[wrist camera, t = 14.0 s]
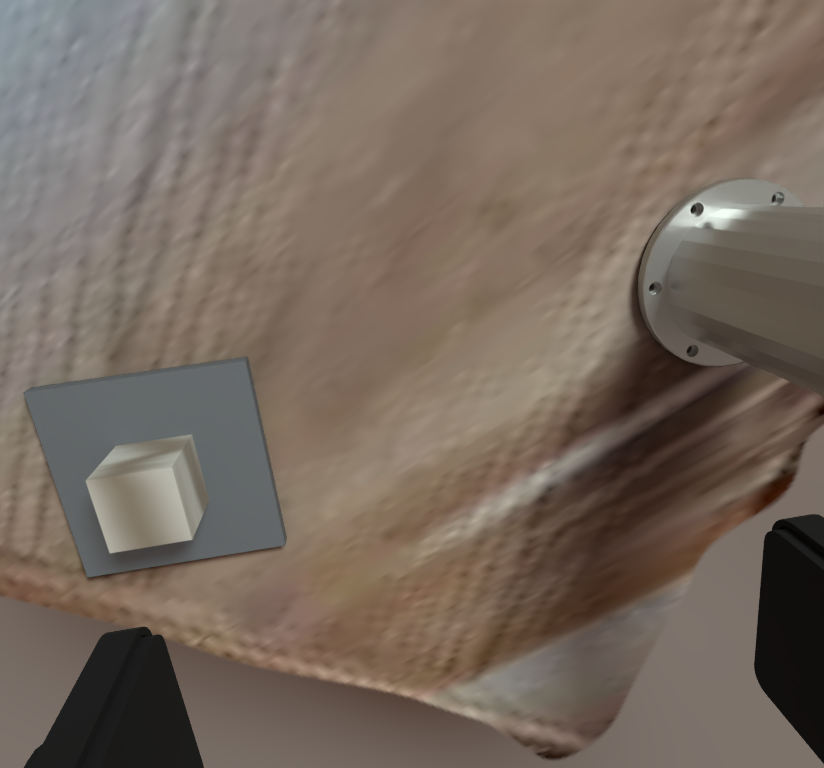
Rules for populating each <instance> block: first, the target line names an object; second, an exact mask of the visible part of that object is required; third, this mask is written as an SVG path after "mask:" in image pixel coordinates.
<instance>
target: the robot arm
mask: <svg viewBox="0 0 824 768" xmlns="http://www.w3.org/2000/svg"><path fill="white" fill-rule="evenodd" d="M691 207H693V210H692V212H691V211H690V210H691ZM651 284H652V288H651V289H650V290H649V287H650V285H651ZM638 298H639V305H640V310H641V313H642V316H643V319H644V321H645V324H646V326H647V327H648V329H649V331H650V332H651V334H652V336H653V337H654V338H655V339H656V340H657V341H658V342H659V343H660V344H661V345H662V346H663V347H664V348H665V349H666V350H668V351H669V352H671V353H673V354H674V355H676V356H677V357H679V358H681V359H683V360H685V361H688V362H691V363H695V364H699V365H703V366H717V367H721V366H728V365H735V364H739V363H742V362H747V363H749V364H751V365H754V366H756V367H758V368H760V369H763V370H765V371H767V372H769V373H772V374H774V375H776V376H778V377H781V378H783V379H785V380H787V381H790V382H792V383H794V384H797V385H799V386H801V387H803V388H806V389H808V390H810V391H812V392H815V393H817V394H819V395H821V396H824V208H821V207H806V206H805V205H804V204H803V202H802V201H801V200H800V199H799V198H798V197H797V196H795V195H794V194H793V193H792V192H790V191H789V190H788V189H786V188H784V187H781V186H779V185H777V184H775V183H773V182H768V181H763V180H758V179H735V180H727V181H721V182H718V183H715V184H712V185H709V186H706V187H704V188H702V189H700V190H698V191H697V192H695V193H693V194H691V195H689V196H688V197H686V198H685V199H684V200H683V201H682V202H680V203H679V204H678V205H677V206H675V207H674V208H673V209H672V210H671V211H670V212H669V214H668V215H667V216H666V217H665V218H664V219H663V220H662V221H661V223H660V224H659V226H658V227H657V229H656V230H655V232H654V234H653V235H652V237H651V238H650V240H649V243H648V245H647V248H646V250H645V252H644V255H643V257H642V262H641V266H640V271H639V276H638ZM687 348H688V349H687ZM754 668H755V674H756V677H757V680H758V682H759V684H760V686H761V688H762V689H763V691H764V692H765V693H766V695H767V696H768V697H769V698H770V699H771V701H772V702H773V703H774V704H775V705H776V707H777V708H778V709H779V710H780V711H781V713H782V714H783V715H784V716H785V718H786V719H787V720H788V721H789V722H790V724H791V725H792V726H793V727H794V728H795V730H796V731H797V732H798V733H799V734H800V736H801V737H802V738H803V739H804V740H805V742H806V743H807V744H808V745H809V746H810V748H811V749H812V750H813V751H814V753H815V754H816V755H817V756H818V757H819V758H820V759H821V761H822V762H823V763H824V518H823V517H822V516H820V515H815V514H812V515H805V516H799V517H794V518H787V519H781V520H778V521H776V522H775V524H774V525H773V528H772V531H770V532H768V533H767V534H766V535H765V539H764V550H763V562H762V574H761V587H760V599H759V612H758V625H757V638H756V651H755V662H754ZM24 768H204V767H203V763H202V759H201V756H200V753H199V749H198V747H197V743H196V740H195V737H194V733H193V730H192V727H191V724H190V720H189V717H188V714H187V711H186V708H185V704H184V701H183V698H182V695H181V691H180V688H179V685H178V682H177V679H176V676H175V672H174V669H173V666H172V662H171V660H170V656H169V653H168V650H167V646H166V643H165V641H164V638H163V637H162V636H161V635H153V636H152V633H151V631H150V630H149V629H148V628H147V627H138V628H132V629H126V630H120V631H114V632H109V633H106V634H104V635H102V637H101V638H100V639H99V641H98V643H97V645H96V646H95V648H94V650H93V652H92V654H91V656H90V658H89V659H88V661H87V663H86V665H85V667H84V669H83V671H82V672H81V674H80V676H79V678H78V680H77V682H76V683H75V685H74V687H73V689H72V691H71V693H70V695H69V696H68V698H67V700H66V702H65V704H64V706H63V708H62V709H61V711H60V713H59V715H58V717H57V719H56V721H55V723H54V724H53V726H52V728H51V730H50V732H49V733H48V735H47V738H46V739H45V741H44V743H43V744H42V745H41V746H40V747H38V748H37V749H36V750H35V751H34V753H33V754H32V755H31V757H30V758H29V760H28V761H27V763H26V765H25V767H24Z"/></svg>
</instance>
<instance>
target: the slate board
mask: <svg viewBox="0 0 824 768" xmlns="http://www.w3.org/2000/svg"><path fill="white" fill-rule="evenodd" d="M23 393H24V396H25V399H26V401H27V404H28V407H29V410H30V413H31V416H32V419H33V422H34V425H35V427H36V430H37V433H38V436H39V439H40V442H41V445H42V448H43V451H44V453H45V456H46V459H47V462H48V465H49V468H50V471H51V474H52V477H53V479H54V482H55V485H56V488H57V491H58V494H59V497H60V500H61V502H62V505H63V508H64V511H65V514H66V517H67V520H68V523H69V526H70V528H71V531H72V534H73V537H74V540H75V543H76V546H77V549H78V552H79V554H80V557H81V560H82V563H83V566H84V569H85V572H86V575H87V577H94V576H100V575H106V574H112V573H118V572H124V571H131V570H137V569H143V568H149V567H155V566H161V565H168V564H174V563H180V562H186V561H192V560H198V559H205V558H211V557H217V556H223V555H229V554H235V553H242V552H248V551H254V550H260V549H266V548H272V547H279V546H285V545H286V538H287V537H286V533H285V528H284V523H283V519H282V514H281V509H280V505H279V500H278V495H277V491H276V486H275V481H274V477H273V472H272V468H271V463H270V458H269V454H268V449H267V444H266V440H265V435H264V430H263V426H262V421H261V416H260V412H259V407H258V402H257V398H256V393H255V388H254V384H253V379H252V375H251V370H250V365H249V361H248V357H243V358H236V359H229V360H221V361H214V362H207V363H200V364H193V365H186V366H179V367H172V368H165V369H158V370H151V371H144V372H137V373H130V374H123V375H116V376H109V377H102V378H95V379H88V380H81V381H74V382H67V383H60V384H53V385H46V386H39V387H32V388H30V389H28V390H27V391H25V392H23ZM190 434H192V436H193V440H194V444H195V447H196V451H197V455H198V459H199V463H200V466H201V470H202V474H203V478H204V482H205V485H206V489H207V493H208V497H209V502H208V504H207V507H206V509H205V511H204V514H203V516H202V518H201V521H200V523H199V525H198V528H197V530H196V532H195V535H194V537H193V539H192V540H188V541H182V542H176V543H170V544H164V545H158V546H152V547H146V548H140V549H134V550H127V551H121V552H115V553H109V550H108V547H107V544H106V541H105V538H104V535H103V532H102V529H101V526H100V523H99V520H98V517H97V514H96V511H95V508H94V505H93V502H92V499H91V496H90V493H89V490H88V487H87V484H86V479H87V478H88V477H89V476H90V475H91V474H92V473H93V472H94V470H95V469H96V468H97V467H98V466H99V465H100V464H101V462H102V461H103V460H104V459H105V458H106V457H107V456H108V454H109V453H110V452H111V451H112V450H113V449H114V448H115V446H119V445H126V444H132V443H139V442H145V441H152V440H158V439H165V438H171V437H177V436H184V435H190Z"/></svg>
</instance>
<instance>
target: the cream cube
mask: <svg viewBox="0 0 824 768" xmlns="http://www.w3.org/2000/svg"><path fill="white" fill-rule="evenodd" d="M86 484H87V487H88V490H89V493H90V496H91V499H92V502H93V505H94V508H95V511H96V514H97V517H98V520H99V523H100V526H101V529H102V532H103V535H104V538H105V541H106V544H107V547H108V550H109V553H115V552H121V551H127V550H134V549H140V548H146V547H152V546H158V545H164V544H170V543H176V542H182V541H188V540H192V539H193V537H194V535H195V532H196V530H197V528H198V525H199V523H200V521H201V518H202V516H203V514H204V511H205V509H206V507H207V504H208V502H209V497H208V493H207V489H206V485H205V482H204V478H203V474H202V470H201V466H200V463H199V459H198V455H197V451H196V447H195V444H194V440H193V436H192V434H190V435H184V436H177V437H171V438H165V439H158V440H152V441H145V442H139V443H132V444H126V445H119V446H115V448H114V449H113V450H112V451H111V452H110V453H109V454H108V456H107V457H106V458H105V459H104V460H103V461H102V462H101V464H100V465H99V466H98V467H97V468H96V469H95V470H94V472H93V473H92V474H91V475H90V476H89V477H88V478H87V479H86Z"/></svg>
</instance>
